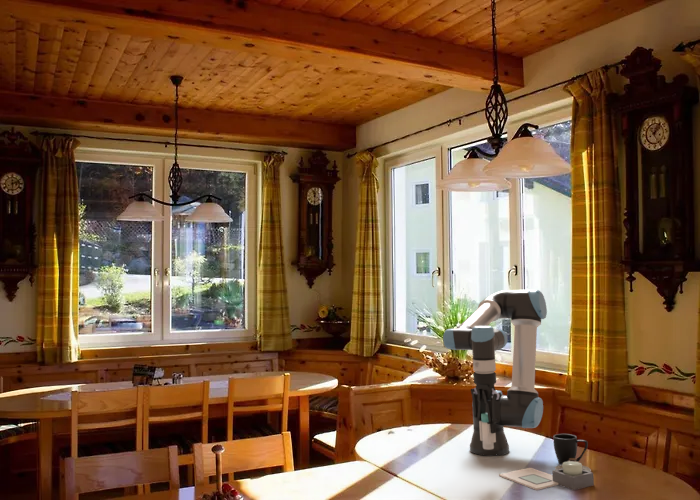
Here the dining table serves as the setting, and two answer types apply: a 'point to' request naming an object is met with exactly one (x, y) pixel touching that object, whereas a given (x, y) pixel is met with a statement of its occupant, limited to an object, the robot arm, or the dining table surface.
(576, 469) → the button
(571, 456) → the mug
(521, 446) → the dining table surface
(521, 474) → the sheet
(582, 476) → the button housing
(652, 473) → the dining table surface
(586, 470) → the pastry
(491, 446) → the marker
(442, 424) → the dining table surface
